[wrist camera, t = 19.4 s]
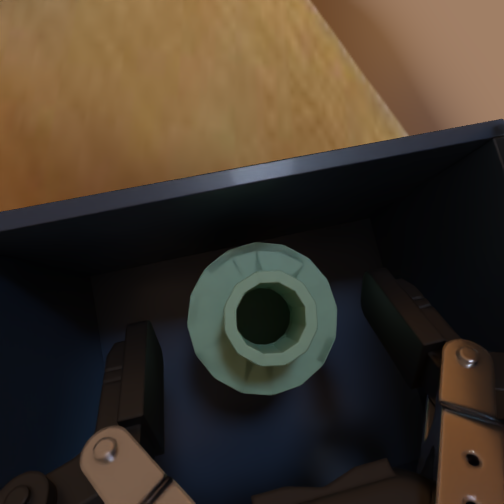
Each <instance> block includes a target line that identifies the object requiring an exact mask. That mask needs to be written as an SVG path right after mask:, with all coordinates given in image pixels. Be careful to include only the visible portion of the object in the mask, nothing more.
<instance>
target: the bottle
mask: <svg viewBox="0 0 504 504" xmlns="http://www.w3.org/2000/svg"><path fill="white" fill-rule="evenodd" d="M336 326H337V305H336V302H335V300H334V297H333V294H332V291H331V288H330V285H329V282H328V281H327V279H326V277H325V276H324V275H323V274H322V273H321V272H320V270H319V269H318V268H317V267H316V266H315V265H314V263H313V262H312V261H311V260H310V259H308V257H306V256H304V255H302V254H300V253H298V252H296V251H295V250H293V249H291V248H289V247H287V246H285V245H281V244H271V243H261V242H253V243H250V244H246V245H243V246H240V247H236V248H233V249H230V250H228V251H226V252H225V253H223V254H222V255H221V256H220V257H218V258H217V259H216V260H215V261H213V262H212V263H211V264H210V265H209V266H207V267H206V268H205V269H204V271H203V273H202V274H201V276H200V278H199V280H198V282H197V284H196V285H195V287H194V289H193V291H192V293H191V295H190V303H189V311H188V320H187V327H188V330H189V334H190V338H191V341H192V345H193V348H194V352H195V354H196V356H197V357H198V359H199V360H200V361H201V362H202V364H203V365H204V366H205V367H206V369H207V370H208V371H209V372H210V374H211V375H212V376H213V377H214V378H215V379H216V380H218V381H220V382H222V383H224V384H225V385H227V386H229V387H231V388H233V389H235V390H237V391H239V392H240V393H245V394H258V395H276V394H278V393H281V392H284V391H287V390H290V389H293V388H296V387H298V386H300V385H302V384H303V383H304V382H305V381H307V380H308V379H309V378H310V377H311V376H312V375H313V374H314V373H315V372H316V371H317V370H319V369H320V368H321V367H322V366H323V364H324V363H325V360H326V358H327V356H328V354H329V352H330V350H331V347H332V345H333V343H334V341H335V337H336Z"/></svg>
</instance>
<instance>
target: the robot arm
mask: <svg viewBox="0 0 504 504" xmlns="http://www.w3.org/2000/svg"><path fill="white" fill-rule="evenodd" d="M361 308H362V311H363V314H364V316H365V318H366V319H367V321H368V322H369V324H370V326H371V327H372V329H373V330H374V332H375V333H376V335H377V337H378V338H379V340H380V341H381V343H382V344H383V346H384V348H385V349H386V351H387V352H388V354H389V355H390V357H391V359H392V360H393V362H394V363H395V365H396V366H397V368H398V369H399V371H400V373H401V374H402V376H403V377H404V379H405V380H406V382H407V384H408V385H409V387H410V388H411V390H413V389H417V388H421V387H423V388H424V389H425V391H426V392H427V397H426V404H425V414H424V424H423V433H422V443H421V451H420V456H419V460H418V465H417V471H416V472H413V471H410V470H406V469H401V468H394V467H391V465H390V463H389V461H388V459H387V458H384V459H380V460H376V461H373V462H369V463H366V464H362V465H359V466H355V467H353V468H352V469H350V470H349V471H347V472H346V473H344V474H343V475H341V476H340V477H338V478H337V479H335V480H334V481H332V482H331V483H329V484H328V485H326V486H323V487H295V486H285V487H281V488H277V489H274V490H270V491H267V492H263V493H260V494H256V495H253V496H251V500H252V504H504V424H503V423H502V422H498V420H497V419H501V420H502V421H503V422H504V352H489V351H487V350H486V349H485V348H483V347H482V346H481V345H479V344H477V343H475V342H472V341H469V340H465V339H461V338H460V337H459V335H458V334H457V333H456V332H455V331H454V330H453V329H452V327H451V326H450V325H449V324H448V323H447V322H446V321H445V319H444V318H443V317H442V316H441V315H440V314H439V313H438V312H437V310H436V309H435V308H434V307H433V306H431V304H430V302H429V301H428V300H427V299H426V298H424V296H423V294H422V293H421V292H420V291H419V290H418V289H417V288H416V286H414V285H413V284H411V283H409V282H408V281H406V280H404V279H403V278H399V279H395V278H394V276H393V275H392V274H391V273H390V272H389V270H388V269H386V268H380V269H376V270H371V271H367V272H365V273H364V275H363V283H362V292H361ZM104 371H105V373H104V376H103V385H102V390H101V396H100V403H99V410H98V416H97V423H96V428H95V432H94V435H93V436H91V437H90V439H89V440H88V441H87V442H86V444H85V445H84V447H83V449H82V452H81V453H80V454H78V455H77V456H76V457H74V458H73V459H71V460H70V461H68V462H66V463H65V464H63V465H61V466H60V467H58V468H56V469H54V470H53V471H51V472H49V473H48V474H46V475H44V474H43V473H42V472H39V471H27V472H24V473H22V474H20V475H18V476H16V477H15V478H13V479H12V480H11V481H9V482H8V483H7V484H6V485H5V486H4V487H3V488H2V489H1V491H0V504H196V503H195V502H194V501H193V500H192V499H191V498H190V497H189V495H188V494H187V493H186V492H185V491H184V490H183V489H182V488H181V487H180V485H179V484H178V483H177V482H176V481H175V480H174V479H173V478H172V477H169V476H168V475H167V474H166V473H165V472H164V471H163V470H162V469H161V468H160V467H159V466H158V464H157V463H156V462H155V456H158V455H162V454H165V453H164V360H163V354H162V349H161V346H160V344H159V341H158V339H157V336H156V334H155V331H154V329H153V327H152V324H151V322H150V320H145V321H141V322H136V323H132V324H128V325H127V327H126V335H125V341H121V342H116V343H114V345H113V346H112V348H111V350H110V351H109V353H108V355H107V356H106V363H105V370H104Z"/></svg>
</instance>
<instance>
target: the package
mask: <svg viewBox="0 0 504 504" xmlns="http://www.w3.org/2000/svg"><path fill="white" fill-rule="evenodd" d="M253 242H261V243H271V244H281V245H285V246H287V247H289V248H291V249H293V250H295V251H296V252H298V253H300V254H302V255H304V256H306V257H308V259H310V260H311V261H312V262H313V263H314V265H315V266H316V267H317V268H318V269H319V270H320V272H321V273H322V274H323V275H324V276H325V277H326V279H327V281H328V282H329V285H330V288H331V291H332V294H333V297H334V300H335V302H336V305H337V326H336V337H335V341H334V343H333V345H332V347H331V350H330V352H329V354H328V356H327V358H326V360H325V363H324V364H323V366H322V367H321V368H320V369H319V370H317V371H316V372H315V373H314V374H313V375H312V376H311V377H310V378H309V379H308V380H307V381H305V382H304V383H303V384H302V385H300V386H298V387H296V388H293V389H290V390H287V391H284V392H281V393H278V394H276V395H258V394H245V393H240V392H239V391H237V390H235V389H233V388H231V387H229V386H227V385H225V384H224V383H222V382H220V381H218V380H216V379H215V378H214V377H213V376H212V375H211V374H210V372H209V371H208V370H207V369H206V367H205V366H204V365H203V364H202V362H201V361H200V360H199V359H198V357H197V356H196V354H195V352H194V348H193V345H192V341H191V338H190V334H189V330H188V327H187V320H188V311H189V303H190V295H191V293H192V291H193V289H194V287H195V285H196V284H197V282H198V280H199V278H200V276H201V274H202V273H203V271H204V269H205V268H206V267H207V266H209V265H210V264H211V263H212V262H213V261H215V260H216V259H217V258H218V257H220V256H221V255H222V254H223V253H225V252H226V251H228V250H230V249H233V248H236V247H240V246H243V245H246V244H250V243H253ZM380 268H386V269H388V270H389V272H390V273H391V274H392V275H393V276H394V278H395V279H399V278H403V279H404V280H406V281H408V282H409V283H411V284H413V285H414V286H416V288H417V289H418V290H419V291H420V292H421V293H422V294H423V296H424V298H426V299H427V300H428V301H429V302H430V304H431V306H433V307H434V308H435V309H436V310H437V312H438V313H439V314H440V315H441V316H442V317H443V318H444V319H445V321H446V322H447V323H448V324H449V325H450V326H451V327H452V329H453V330H454V331H455V332H456V333H457V334H458V335H459V337H460V338H461V339H465V340H469V341H472V342H475V343H477V344H479V345H481V346H482V347H483V348H485V349H486V350H487V351H489V352H504V120H503V119H499V120H494V121H488V122H483V123H477V124H473V125H466V126H461V127H456V128H450V129H445V130H439V131H434V132H429V133H423V134H418V135H413V136H407V137H402V138H396V139H391V140H386V141H380V142H375V143H369V144H364V145H359V146H353V147H348V148H342V149H337V150H332V151H326V152H321V153H316V154H310V155H305V156H299V157H294V158H289V159H283V160H278V161H272V162H267V163H262V164H256V165H251V166H246V167H240V168H235V169H229V170H224V171H219V172H213V173H208V174H202V175H197V176H192V177H186V178H181V179H176V180H170V181H165V182H159V183H154V184H149V185H143V186H138V187H132V188H127V189H122V190H116V191H111V192H106V193H100V194H95V195H89V196H84V197H79V198H73V199H68V200H62V201H57V202H52V203H46V204H41V205H35V206H30V207H25V208H19V209H14V210H9V211H3V212H0V491H1V489H2V488H3V487H4V486H5V485H6V484H7V483H8V482H9V481H11V480H12V479H13V478H15V477H16V476H18V475H20V474H22V473H24V472H27V471H39V472H42V473H43V474H44V475H46V474H48V473H49V472H51V471H53V470H54V469H56V468H58V467H60V466H61V465H63V464H65V463H66V462H68V461H70V460H71V459H73V458H74V457H76V456H77V455H78V454H80V453H81V452H82V449H83V447H84V445H85V444H86V442H87V441H88V440H89V439H90V437H91V436H93V435H94V432H95V428H96V423H97V416H98V410H99V403H100V396H101V390H102V385H103V376H104V373H105V371H104V370H105V363H106V356H107V355H108V353H109V351H110V350H111V348H112V346H113V345H114V343H116V342H121V341H125V335H126V327H127V325H128V324H132V323H136V322H141V321H145V320H150V322H151V324H152V327H153V329H154V331H155V334H156V336H157V339H158V341H159V344H160V346H161V349H162V354H163V360H164V453H165V454H162V455H158V456H155V462H156V463H157V464H158V466H159V467H160V468H161V469H162V470H163V471H164V472H165V473H166V474H167V475H168V476H169V477H172V478H173V479H174V480H175V481H176V482H177V483H178V484H179V485H180V487H181V488H182V489H183V490H184V491H185V492H186V493H187V494H188V495H189V497H190V498H191V499H192V500H193V501H194V502H195V503H196V504H252V500H251V496H253V495H256V494H260V493H263V492H267V491H270V490H274V489H277V488H281V487H285V486H295V487H323V486H326V485H328V484H329V483H331V482H332V481H334V480H335V479H337V478H338V477H340V476H341V475H343V474H344V473H346V472H347V471H349V470H350V469H352V468H353V467H355V466H359V465H362V464H366V463H369V462H373V461H376V460H380V459H384V458H387V459H388V461H389V463H390V465H391V467H394V468H401V469H406V470H410V471H413V472H416V471H417V465H418V460H419V456H420V451H421V443H422V433H423V424H424V414H425V404H426V397H427V392H426V391H425V389H424V388H423V387H421V388H417V389H413V390H411V388H410V387H409V385H408V384H407V382H406V380H405V379H404V377H403V376H402V374H401V373H400V371H399V369H398V368H397V366H396V365H395V363H394V362H393V360H392V359H391V357H390V355H389V354H388V352H387V351H386V349H385V348H384V346H383V344H382V343H381V341H380V340H379V338H378V337H377V335H376V333H375V332H374V330H373V329H372V327H371V326H370V324H369V322H368V321H367V319H366V318H365V316H364V314H363V311H362V308H361V292H362V283H363V275H364V273H365V272H367V271H371V270H376V269H380ZM497 420H498V422H502V423H503V424H504V422H503V421H502V420H501V419H497Z"/></svg>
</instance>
